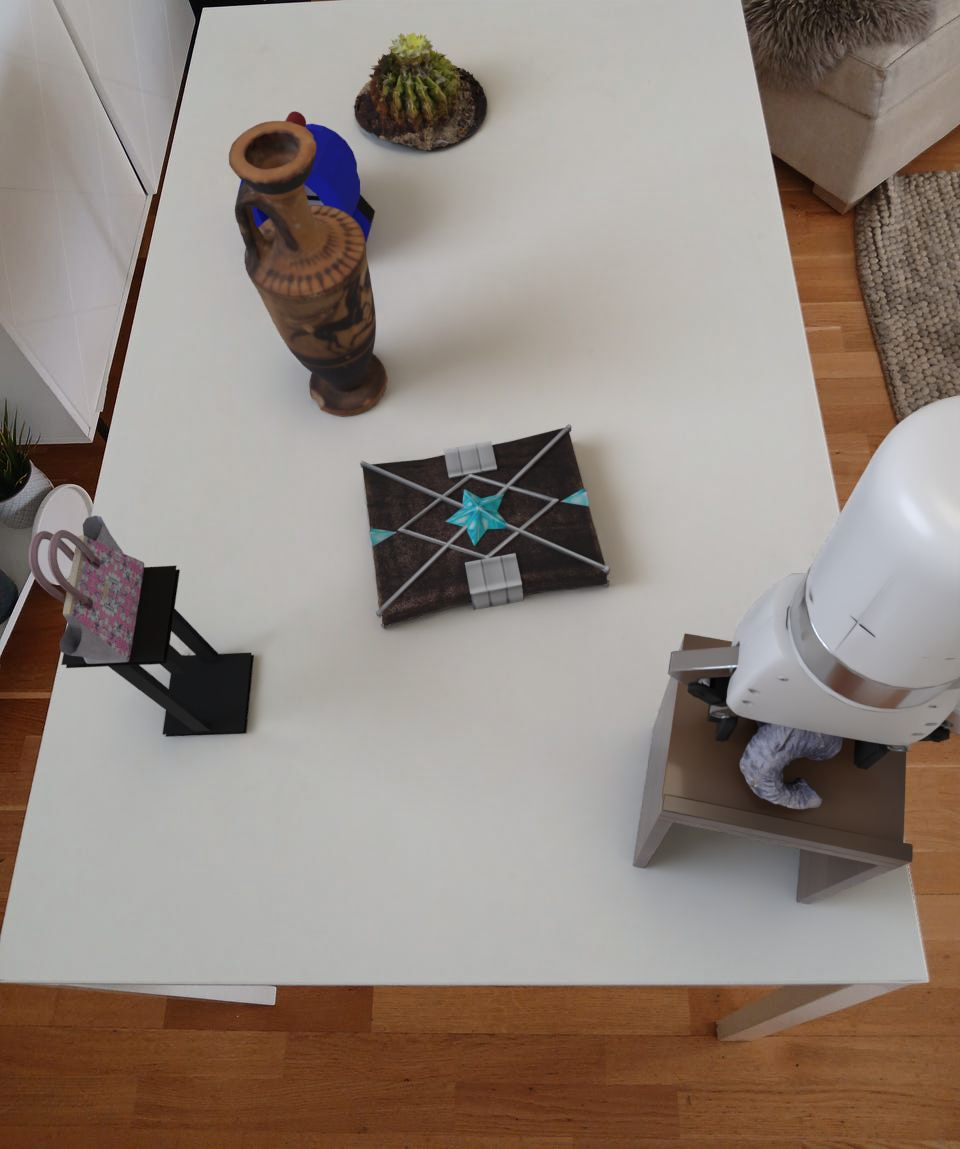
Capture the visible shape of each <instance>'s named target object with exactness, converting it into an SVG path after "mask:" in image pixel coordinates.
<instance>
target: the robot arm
mask: <svg viewBox="0 0 960 1149" xmlns="http://www.w3.org/2000/svg"><path fill="white" fill-rule="evenodd" d="M731 641H732V645H731V647H720V648H707V649H694V650H681V651H679V650H673V651H671V652H670V657H669V662H668V663H669V664H668V669H667V675H668V676H669V677H670V676H671V677H673V678H674V679H675V680H677V681H678V682H679V683H681V684H682V685H687V686H688V693H689V694H691V695H692V696H693V697H695V698H698V699H700V700H702V701H704V702H705V703H707V704H709V707H708V715H707V721H709V722H714V723H717V726H716V734H715V740H716V741H721V742H724V741H725V740H728V739H729V737H730V736H731V734H732V733H733V731H734V729H735V728H736V726H737V723H738V717H739V716H742V717H745V718H749V719H753V720H757V721H762V722H767V723H772V724H777V725H782V726H787V727H792V728H797V729H802V730H808V731H813V732H818V733H823V734H829V735H834V736H840V737H845V738H851V739H855V747H854V765H857V768H861V769H866V770H867V769H868V768H869V767H871V766H872V765H873V764H875V763H876V762H877V761H878V760H880V759H881V758H882V757H884V756H885V755H886V754H887V753H888V752H889V751H890V750H892V751H896V752H906V753H907V752H909V751H911V745H913V744H915V743H918V742H933V743H941V742H944V741H948V740H950V738H951V734H954V735H956V736H960V394H957V395H953V396H949V397H944V398H941V399H937V400H935V401H933V402H931V403H929V404H926V405H923V406H922V407H920V408H918V409H917V410H915V411H914V412H912V413H911V414H910V415H908V416H906V417H905V418H904V419H902V420H901V421H900V422H899V423H898V424H896V425H895V426H894V427H893V428H892V429H891V430H890V431H889V432H888V434H887V435H886V437H885V438H884V439H883V440H882V442H881V443H880V444H879V446H878V447H877V449H876V450H875V452H874V453H873V455H872V457H871V459H870V460H869V462H868V463H867V466H866V468H865V469H864V471H863V473H862V475H861V477H860V478H859V479H858V481H857V483H856V485H855V487H854V488H853V490H852V492H851V493H850V496H848V499H847V501H846V502H845V504H844V506H843V508H842V510H841V512H840V513H839V515H838V517H837V518H836V520H835V522H834V524H833V526H832V527H831V529H830V531H829V533H828V534H827V536H826V538H825V539H824V541H823V543H822V545H821V547H820V549H819V550H818V552H817V553H816V556H815V557H814V559H813V560H812V562H811V564H810V566H809V567H808V570H807V572H795V573H790V574H788V575H786V576H785V577H783V578H782V579H780V580H778V581H777V582H776V583H774V584H773V585H771V586H770V587H769V588H768V589H767V590H766V591H765V592H764V593H762V594H761V595H760V597H759V598H758V599H757V600H756V601H755V602H754V603H753V605H752V606H751V607H750V608H749V609H748V611H747V612H746V614H744V616H743V618H742V619H741V620H740V622H739V624H738V626H737V627H736V628H735V631H734V633H733V638H732V640H731Z"/></svg>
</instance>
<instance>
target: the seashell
mask: <svg viewBox="0 0 960 1149" xmlns="http://www.w3.org/2000/svg"><path fill="white" fill-rule="evenodd" d="M756 723H757V725H758V727H759V729H758V731H757V734H755V735H753V736H752V740H750V741H749V743H748V745H747V747H746V749H745V752H744V753H743V756H742V758H741V760H740V764H739V765H740V769H741V772H742V773H743V775H744V776H745V778H746V781H747V783H748V785H749V786H750V788H751V789H752V790H753V792H754V793H755V794H757V795H758V796H759V797H760V798H761V799H763V798H764V799H766V800H768V801H770V802H772V803H774V804H780V805H783V806H786V807H788V808H793V809H808V808H818V807H819V806H820V804H821V802H822V798H821V797H820V796H819V795H818V794H817V793H815V791H814V790H812V789H811V788H810V787H809V786H808V785H807V783H806V781H805V780H804V778H798V777H795V779H794V780H793V782H789V783H788V782H783V771H782V770H783V768H784V766H786V765H789V762H790V761H792V760H794V759H796V758H802V757H805V758H809V759H811V760H816V761H822V760H825V759H830V758H833V757H834V756H835V755H836V754H837V753H838V752H839V751H840V750H841V747H842V741H843V737H840V736H834V735H829V734H823V733H818V732H813V731H808V730H802V729H797V728H792V727H787V726H782V725H777V724H772V723H767V722H762V721H757V720H756Z"/></svg>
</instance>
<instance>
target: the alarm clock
mask: <svg viewBox="0 0 960 1149" xmlns="http://www.w3.org/2000/svg"><path fill="white" fill-rule="evenodd" d="M284 121H288V122H292V123H295V124H298V125H301V126H303V127H305V128H307V130H309V131H310V132H311V133H312V135H313V139H314V141H315V142H316V145H317V149H316V156H315V161H314V165H313V169H312V172H311V174H310V176H309V178H308V179H307V181H306V182H305V183H304V187H305V192H306V195H307V199H308V203H309V205H325V206H330V207H334V208H337V209H340V210H342V211H343V212H345V213H347V214H348V215H350V216H351V217H352V218H354V219H355V220H356V221H357V223H358V224H359V225H360V227H361V229H362V231H363V233H364V236H365V242H366V243H367V242H368V238H369V235H370V232H371V227H372V224H373V220H374V217H375V213H376V210H375V209H374V208H373V207H372V206H371V204H370V203H369V202H368V201H367V200H366V198H364V196H363V195H362V194H361V179H360V176H359V173H358V163H357V162H358V161H357V160H356V156H355V153H354V150H352V148H351V146H350V145H349V143H348V142H347V141H346V139H345V138H344V137H343V136H341V135H340V134H339V133H338V132H337V131H335V130H333V129H330V128H329V127H327V126H326V125H322V124H317V123H307V120H306V117H305V116H304V114H302V113H301V112H299V111H291V112H289V114H288V115H287V117H286V118H285V120H284ZM242 183H243V181H242V180H241V179H240V182H239V187H238V191H237V193H238V192H239V189H240V187H241V185H242ZM252 210H253V215H254V220H255V223H256V225H257V226H258V227H259V226H261V225H262V224H263V223H264V222H265V221H266V220H267V219H269V217H268V216H267V215H266V214H265V213H264V212H263V211H261V210H259V209H257V208H255V207H252Z"/></svg>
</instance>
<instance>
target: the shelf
mask: <svg viewBox="0 0 960 1149" xmlns="http://www.w3.org/2000/svg"><path fill="white" fill-rule="evenodd" d="M732 641H733V640H725V639H720V638H716V637H715V638H714V637H708V636H703V635H697V634H691V633H684V635H683V638H682V641H681V644H680V646H679V649H678V651H681V650H694V649H707V648H720V647H731V645H732ZM708 707H709V704H707V703H705V702H704V701H702V700H700V699H698V698H695V697H693V696H692V695H691V694H689V693H688V686H687V685H682V684H681V683H679V682H678V681H677V680H675V679H674V678H673V677H671V676H670V675H669V679H668V683H667V685H666V688H665V691H664V694H663V697H662V700H661V703H660V706H659V709H658V712H657V715H656V718H655V721H654V723H653V726H652V733H651V740H650V747H649V753H648V760H647V768H646V772H645V773H646V775H645V780H644V788H643V795H642V800H641V808H640V813H639V814H640V815H639V821H638V828H637V833H636V841H635V848H634V849H635V850H634V855H633V860H632V866H633V867H635V868H639V869H646V867H647V865H648V864H649V862H650V861H651V859H652V858H653V856H654V854H655V853H656V851H657V849H658V847H659V846H660V844H661V842H662V841H663V840H664V837H665V836H666V835H667V833H668V831H669V829H670V828H671V826H672V825H673V823H674V824H675V823H676V824H680V825H685V826H690V827H694V828H699V829H703V830H709V831H714V832H718V833H723V834H729V835H733V836H738V837H742V838H747V839H752V840H758V841H761V842H765V843H766V842H767V843H771V844H776V845H781V846H785V847H789V848H795V849H799V859H798V874H797V885H796V898H795V899H796V900H795V901H796V903H798V904H799V903H800V904H804V905H810V904H813V903H816V902H818V901H820V900H823V899H825V898H827V897H831V896H833V895H834V894H837V893H839V892H842V891H844V890H847V889H850V888H852V887H854V886H857V885H859V884H862V883H864V882H866V881H869V880H871V879H874V878H876V877H879V876H881V875H883V874H885V873H888V872H891V871H894V870H897V869H898V868H901V867H903V866H905V865H908V864H911V863H912V862H913V855H914V854H913V853H914V845H913V844H912V843H908V842H904V840H905V814H906V813H905V810H906V778H907V752H896V751H892V750H890V751H889V752H888V753H887V754H886V755H885V756H884V757H882V758H881V759H880V760H878V761H877V762H876V763H875V764H873V765H872V766H871V767H869V768H868V769H867V770H866V769H861V768H857V765H854V747H855V739H851V738H845V737H843V741H842V747H841V750H840V751H839V752H838V753H837V754H836V755H835V756H834V757H833V758H830V759H825V760H822V761H816V760H811V759H809V758H805V757H802V758H796V759H794V760H792V761H790V762H789V765H786V766H784V768H783V770H782V771H783V782H788V783H789V782H793V780H794V779H795V777H798V778H804V780H805V781H806V783H807V785H808V786H809V787H810V788H811V789H812V790H814V791H815V793H817V794H818V795H819V796H820V797H821V798H822V802H821V804H820V806H819V807H818V808H808V809H793V808H788V807H786V806H783V805H780V804H774V803H772V802H770V801H768V800H766V799H764V798H763V799H761V798H760V797H759V796H758V795H757V794H755V793H754V792H753V790H752V789H751V788H750V786H749V785H748V783H747V781H746V778H745V776H744V775H743V773H742V772H741V769H740V765H739V764H740V760H741V758H742V756H743V753H744V752H745V749H746V747H747V745H748V743H749V741H750V740H752V736H753V735H755V734H757V731H758V729H759V727H758V725H757V723H756V720H753V719H749V718H745V717H742V716H739V717H738V723H737V726H736V728H735V729H734V731H733V733H732V734H731V736H730V737H729V739H728V740H725V741H724V742H721V741H716V740H715V734H716V726H717V723H714V722H709V721H707V715H708Z"/></svg>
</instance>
